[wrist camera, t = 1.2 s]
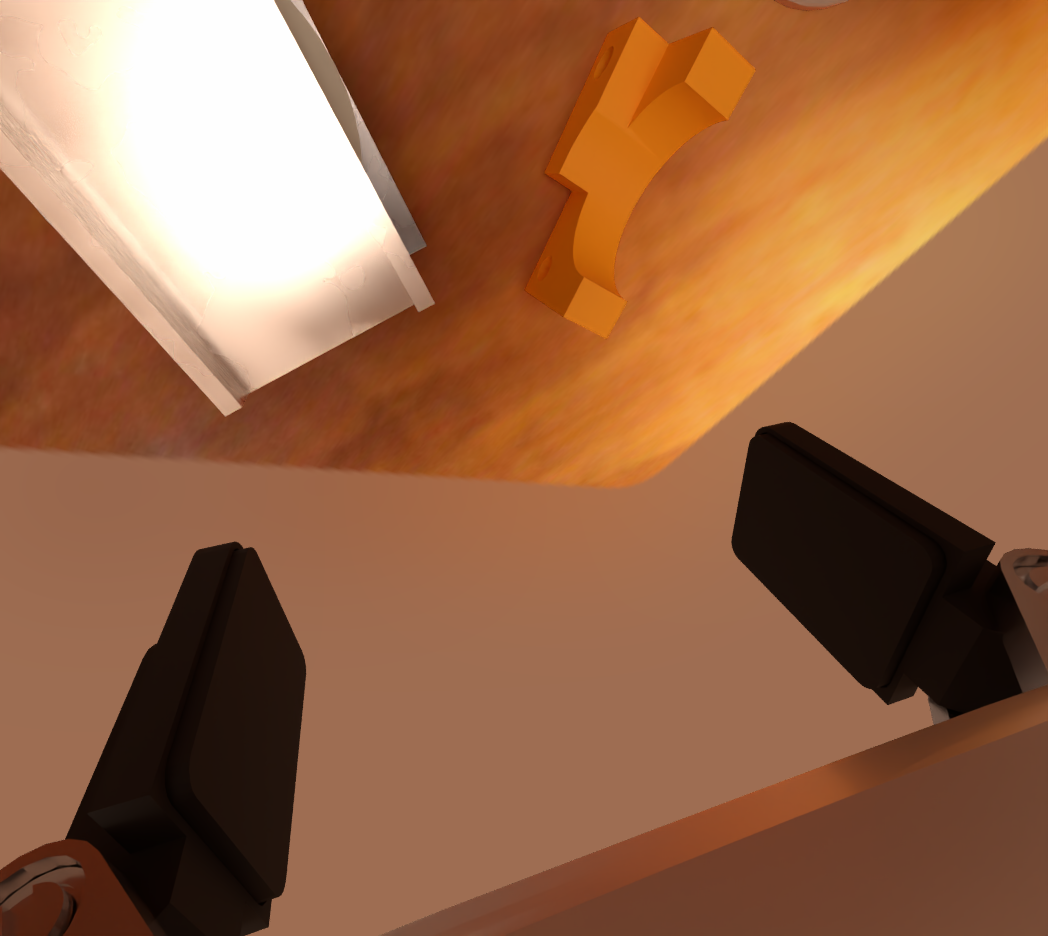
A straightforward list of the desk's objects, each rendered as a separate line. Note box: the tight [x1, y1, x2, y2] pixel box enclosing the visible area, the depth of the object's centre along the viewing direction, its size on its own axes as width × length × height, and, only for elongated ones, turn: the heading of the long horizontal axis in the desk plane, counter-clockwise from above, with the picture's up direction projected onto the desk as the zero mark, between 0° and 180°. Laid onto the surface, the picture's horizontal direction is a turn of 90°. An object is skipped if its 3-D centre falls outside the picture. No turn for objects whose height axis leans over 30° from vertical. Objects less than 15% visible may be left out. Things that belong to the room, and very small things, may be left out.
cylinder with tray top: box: [0, 0, 435, 416], centre depth 18 cm, size 10×13×12 cm
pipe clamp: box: [525, 17, 756, 339], centre depth 24 cm, size 12×4×6 cm, turn 152°
